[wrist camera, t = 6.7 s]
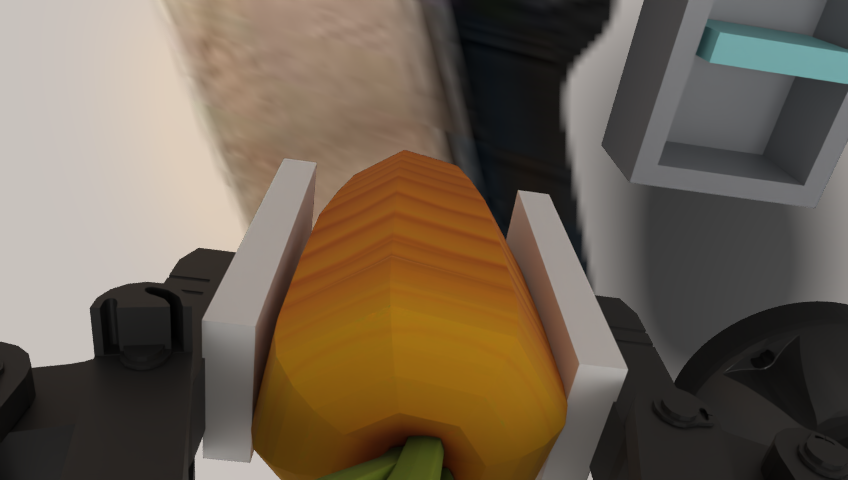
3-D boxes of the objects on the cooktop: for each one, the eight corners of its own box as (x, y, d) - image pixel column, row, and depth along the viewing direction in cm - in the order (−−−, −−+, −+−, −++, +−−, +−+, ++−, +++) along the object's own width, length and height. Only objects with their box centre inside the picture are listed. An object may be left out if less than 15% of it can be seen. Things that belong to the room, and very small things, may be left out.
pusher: (796, 60, 31) (851, 84, 27) (671, 41, 30) (709, 62, 26) (807, 34, 30) (865, 55, 26) (679, 14, 30) (719, 32, 26)
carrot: (498, 238, 20) (661, 892, 7) (340, 251, 20) (198, 917, 7) (492, 78, 18) (719, 599, 5) (313, 94, 18) (26, 645, 5)
